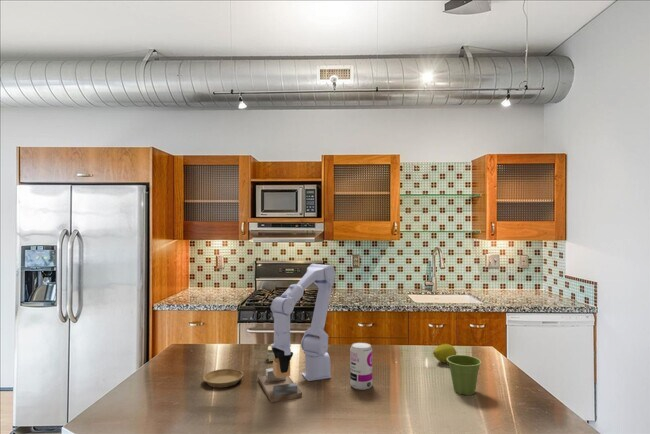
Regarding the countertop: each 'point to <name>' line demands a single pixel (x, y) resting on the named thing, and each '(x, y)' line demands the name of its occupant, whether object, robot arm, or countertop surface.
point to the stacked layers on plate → (270, 354)
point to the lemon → (444, 352)
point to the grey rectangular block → (272, 376)
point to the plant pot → (464, 373)
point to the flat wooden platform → (280, 389)
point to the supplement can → (361, 366)
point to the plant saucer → (223, 377)
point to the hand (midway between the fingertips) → (282, 369)
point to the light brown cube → (277, 369)
